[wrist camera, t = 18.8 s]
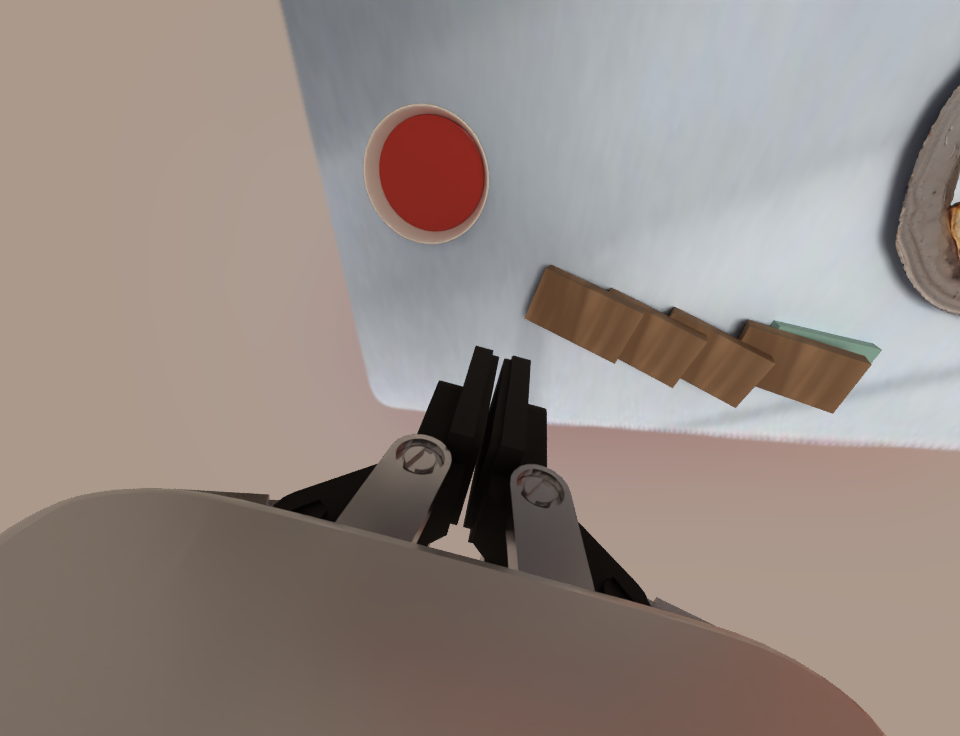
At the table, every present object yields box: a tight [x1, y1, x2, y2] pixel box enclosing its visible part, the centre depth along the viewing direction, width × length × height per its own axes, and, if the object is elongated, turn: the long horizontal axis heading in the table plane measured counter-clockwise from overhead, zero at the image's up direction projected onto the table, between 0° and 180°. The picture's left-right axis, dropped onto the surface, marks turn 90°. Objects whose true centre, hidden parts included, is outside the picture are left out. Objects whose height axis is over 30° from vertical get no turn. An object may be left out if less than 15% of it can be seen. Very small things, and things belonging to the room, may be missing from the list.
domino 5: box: [738, 320, 872, 413], centre depth 36 cm, size 2×5×9 cm
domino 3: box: [669, 307, 775, 408], centre depth 37 cm, size 2×5×9 cm
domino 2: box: [609, 288, 707, 388], centre depth 37 cm, size 2×5×9 cm
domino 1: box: [525, 265, 645, 364], centre depth 37 cm, size 2×5×9 cm
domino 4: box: [770, 321, 882, 363], centre depth 38 cm, size 2×5×9 cm
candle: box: [363, 104, 489, 244], centre depth 32 cm, size 9×9×6 cm
